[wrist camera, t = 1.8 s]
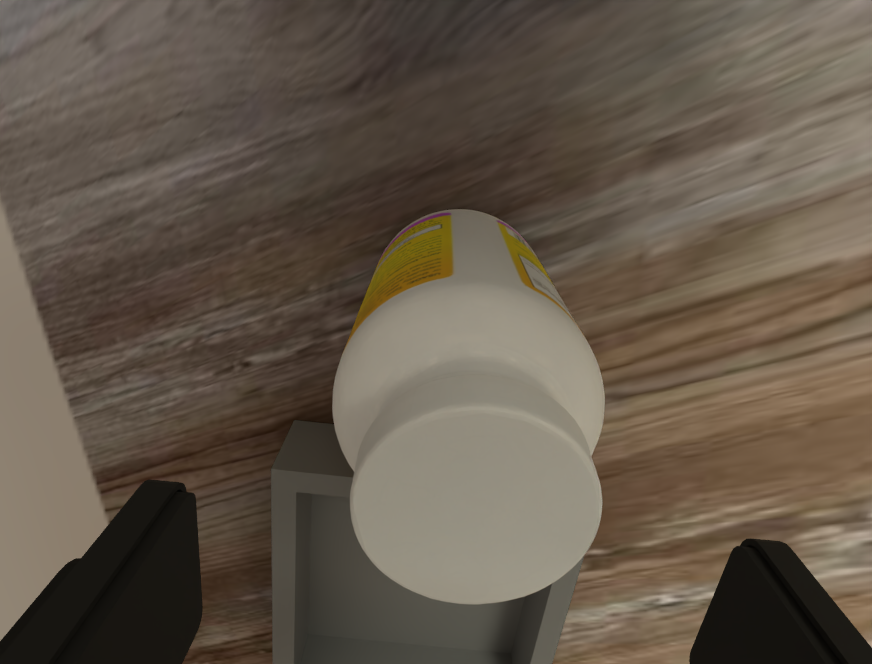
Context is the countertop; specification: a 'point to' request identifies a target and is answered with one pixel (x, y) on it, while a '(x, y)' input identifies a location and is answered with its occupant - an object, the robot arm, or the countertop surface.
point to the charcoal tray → (377, 583)
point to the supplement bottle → (469, 415)
